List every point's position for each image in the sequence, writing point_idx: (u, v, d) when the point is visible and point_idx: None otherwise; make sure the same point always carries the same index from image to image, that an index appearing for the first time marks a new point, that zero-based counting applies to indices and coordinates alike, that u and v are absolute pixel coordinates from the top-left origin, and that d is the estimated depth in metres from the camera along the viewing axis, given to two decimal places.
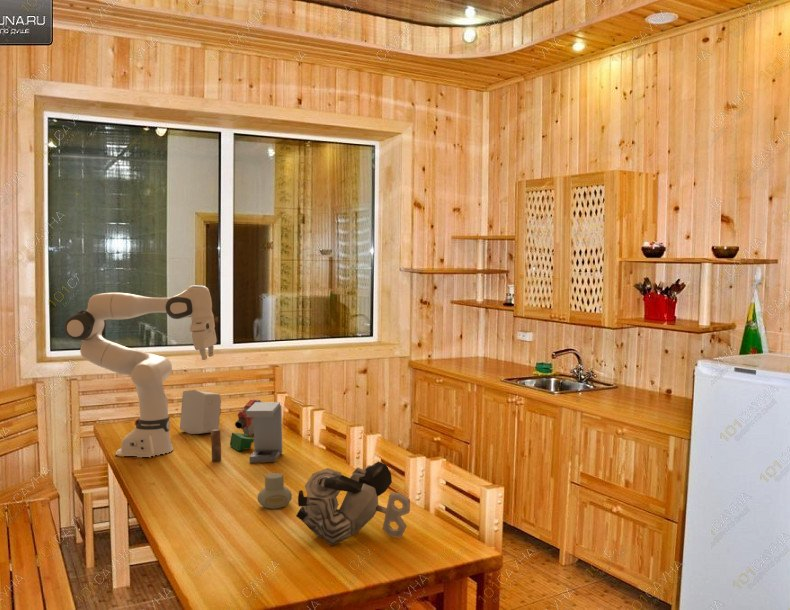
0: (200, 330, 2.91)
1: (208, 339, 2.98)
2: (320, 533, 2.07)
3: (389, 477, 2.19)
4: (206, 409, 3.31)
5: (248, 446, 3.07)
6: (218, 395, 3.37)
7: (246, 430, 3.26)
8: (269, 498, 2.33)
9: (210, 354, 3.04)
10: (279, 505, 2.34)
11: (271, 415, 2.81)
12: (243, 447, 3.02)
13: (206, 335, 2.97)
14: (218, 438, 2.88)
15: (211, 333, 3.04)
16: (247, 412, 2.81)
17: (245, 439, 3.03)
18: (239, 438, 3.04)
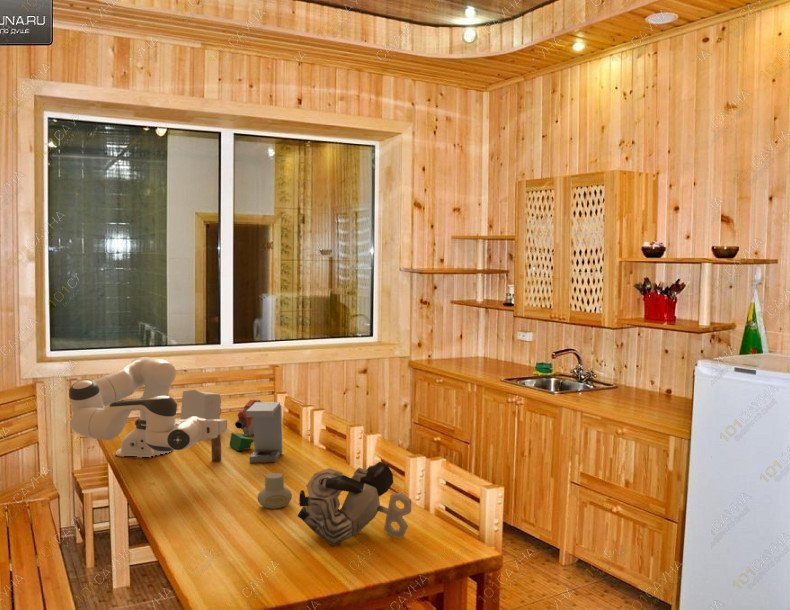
0: (217, 425, 2.63)
1: None
2: (321, 533, 2.07)
3: (390, 477, 2.19)
4: (206, 409, 3.31)
5: (248, 446, 3.06)
6: (218, 395, 3.37)
7: (246, 430, 3.26)
8: (269, 498, 2.33)
9: None
10: (279, 505, 2.34)
11: (271, 415, 2.81)
12: (242, 447, 3.02)
13: None
14: (218, 438, 2.88)
15: None
16: (247, 412, 2.81)
17: (245, 439, 3.03)
18: (239, 438, 3.04)
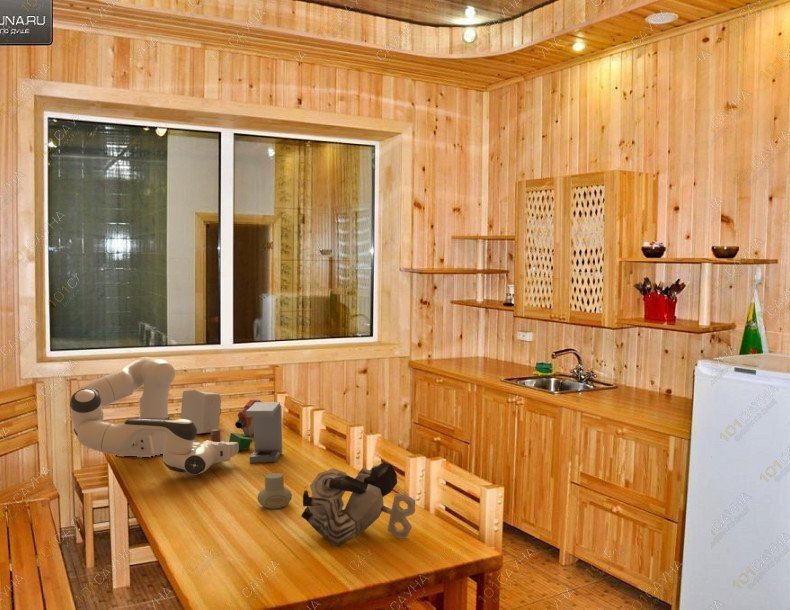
0: None
1: None
2: (325, 533, 2.06)
3: (394, 478, 2.19)
4: (206, 409, 3.31)
5: (247, 447, 3.06)
6: (218, 395, 3.37)
7: (246, 430, 3.26)
8: (269, 498, 2.33)
9: None
10: (279, 505, 2.34)
11: (271, 415, 2.81)
12: (241, 447, 3.02)
13: None
14: (218, 438, 2.88)
15: None
16: (247, 412, 2.81)
17: (244, 439, 3.02)
18: (238, 438, 3.03)
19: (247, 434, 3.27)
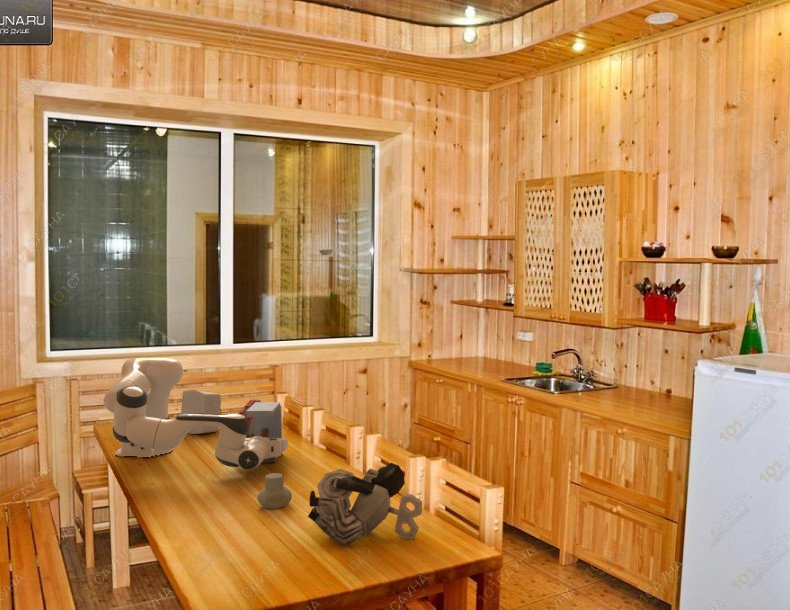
0: None
1: None
2: (331, 534, 2.06)
3: (402, 478, 2.18)
4: (206, 409, 3.31)
5: None
6: (218, 395, 3.37)
7: None
8: (269, 498, 2.33)
9: None
10: (279, 505, 2.34)
11: (271, 415, 2.81)
12: None
13: None
14: (267, 437, 2.89)
15: (248, 441, 2.82)
16: (247, 412, 2.81)
17: None
18: None
19: (247, 434, 3.27)
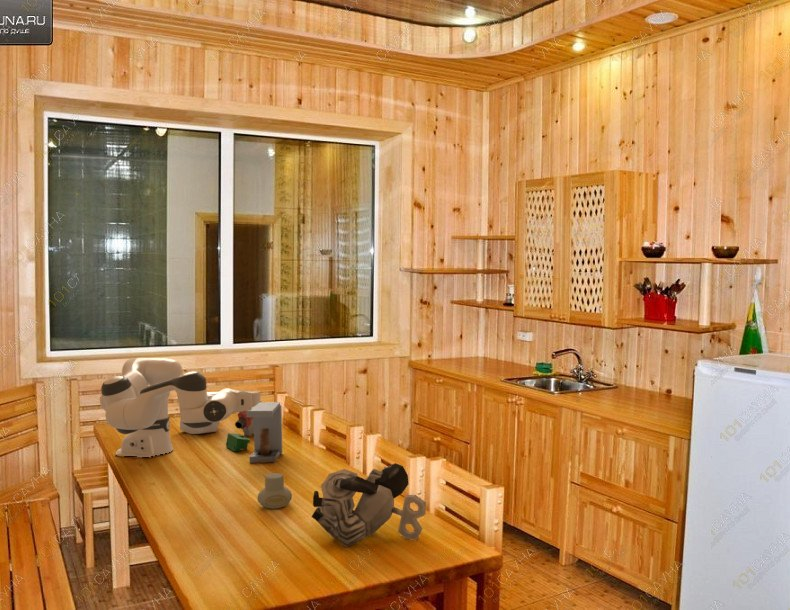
0: (251, 397, 2.57)
1: None
2: (335, 534, 2.06)
3: (406, 479, 2.18)
4: None
5: (244, 447, 3.06)
6: None
7: (246, 430, 3.26)
8: (269, 498, 2.33)
9: None
10: (279, 505, 2.34)
11: (271, 415, 2.81)
12: (239, 448, 3.01)
13: None
14: (267, 437, 2.89)
15: None
16: (247, 412, 2.81)
17: (241, 440, 3.02)
18: (235, 439, 3.03)
19: (247, 434, 3.27)
